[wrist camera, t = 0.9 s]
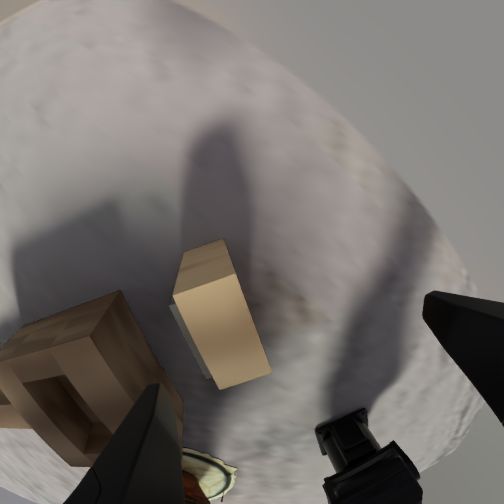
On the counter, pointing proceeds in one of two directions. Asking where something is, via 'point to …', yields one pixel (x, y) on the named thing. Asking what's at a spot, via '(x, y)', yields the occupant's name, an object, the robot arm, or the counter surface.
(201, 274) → the tan cardboard block
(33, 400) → the wooden block stand
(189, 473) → the decorative vase
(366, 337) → the counter surface
